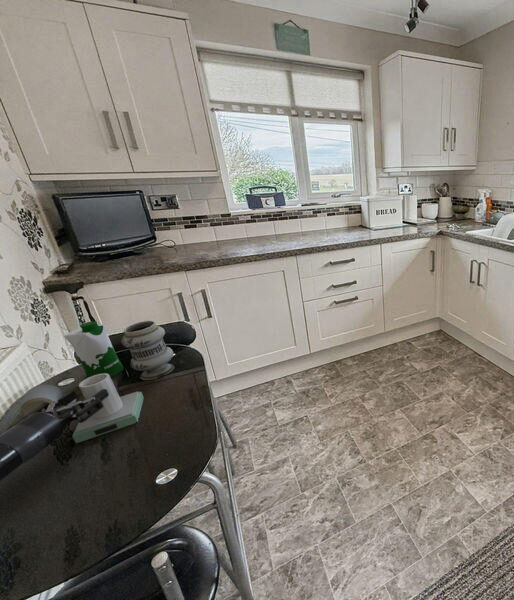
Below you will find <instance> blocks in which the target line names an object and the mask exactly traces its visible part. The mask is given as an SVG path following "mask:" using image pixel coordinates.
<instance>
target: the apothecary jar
mask: <svg viewBox="0 0 514 600" xmlns="http://www.w3.org/2000/svg"><path fill="white" fill-rule="evenodd" d="M165 334H166V331H165V329H164V328H163V327H161V326H160V325H157V324H156V322H155V321H153V320H144V321H140V322H136V323H133V324H130V325H129V326H126V328H124V330H123V336H122V338H121V340H120V342H121V345H122V346H123V347H125V348H126V349H129V353H130V354H131V360H130V362H129V363H130V367H131V368H132V369H133V370H135V371H139V372H142V373H141V374H140V375H139V376H140V379H141V380H143V381H154V380H155V379H159V378H161V377H164V376H167V375H168V374H170V373H171V372H173V371H174V369H175V365H174V364H173V363H170V362H171V360H172V358H173V356H174V351H173V349H172V348H171V347H169V346H167V344H166V343H165V340H164V336H165Z"/></svg>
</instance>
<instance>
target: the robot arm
mask: <svg viewBox="0 0 514 600" xmlns="http://www.w3.org/2000/svg"><path fill="white" fill-rule="evenodd" d="M65 394H66V395H65V396H63V397H62V398H60V399H59V400H54V401H52V402H51V403H48V402H45V403H43V404H42V405H40V406H39V407H37V408H36V409H34V410H33V411H32V412H30V413H29V414H27V415H26V416H22V420H21V421H19V422H18V423H16V424H15V425H13V426H12V427H10V428H9V429H7V430H5V431H4V432H2V433H1V434H0V482H1V481H3V480H4V479H5V478H6V477H8V476H9V475H11V473H13V472H14V471H15V470H17V469H18V468H19V467H21V466H22V465H24V464H25V463H27V462H28V461H30V460H31V459H33V458H34V457H36V455H38V454H39V453H41V452H42V451H43V450H45V449H46V448H47V447H48V446H50V445H51V444H52V443H53V442H54V441H55V440H57V439H58V438H59V437H61V435H63V433H64V429H65V427H66V426H67V425H69V424H70V423H72V422H74V421H78V424H79V423H82V422H84V421H86V420H87V419H88V418H90V417H91V416H92V415H94V414H95V413H96V412H98V411H99V410H100V409H102V408H103V407H104V406H103V404H102V402H101V401H103V400H104V399H105V398H106V397H108V396H109V393H108V391H107V389H102V390H101V391H99V392H98V393H97V394H95V395H94V396H93V397H91V398H90V399H87V400H86V399H84V400H83V401H82V400H79V401H76V403H73V404H71V405H68V404H69V403H71V402H72V401H73V400H75V399H76V400H77V398H78V395H77V392H75V390H72V391H69V392H68V393H65ZM88 403H89V404H88ZM66 405H68V406H66ZM77 407H79V408H80V409H78V408H77ZM43 408H44V409H45V411H44V412H42V409H43ZM94 408H95V409H94Z"/></svg>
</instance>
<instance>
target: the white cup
mask: <svg viewBox="0 0 514 600" xmlns="http://www.w3.org/2000/svg"><path fill="white" fill-rule="evenodd" d="M78 388H79V389H80V391H81V393H82V395H83V397H84V400H87V399H90V398H91V397H93V396H94V395H95V394H97V393H98V392H99V391H101V390H102V389H107V391H108V393H109V396H108V397H106V398H105V399H104V400H103V401H101V402H102V404H103V406H104V407H103V408H102V409H100V410H99V411H98V412H96V413H95V414H94V416H95V417H96V418H102V417H106V416H109V415H111V414H113V413H115V412H117V411H118V410H120V409H121V408H122V406H123V403H122V401H121V399H120V397H121V396H120V395H119V392H118V390H117V389H116V386H115V384H114V382H113V380H112V378H110V376H109V374H106V373H103V374H98V375H94V376H92V377H89V378H87V377H86V378H85V379H84V380H82V381H81V382H79V383H78ZM88 404H89V403H87V405H88ZM94 409H95V408H94Z"/></svg>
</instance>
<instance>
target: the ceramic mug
mask: <svg viewBox="0 0 514 600" xmlns="http://www.w3.org/2000/svg"><path fill="white" fill-rule="evenodd" d="M66 394H67V393H63V391H62V389H61V388H60V387H58V386H56V385H53V384H48V383H47V384H46V383H45V384H44V383H43V384H39V385H35V386H33V387H31V388H30V389H28V391H26V393H25V395H24V398H23V400H22V402H21V404H20V408H19V411H20V414H21V416H22V417H24V416H26V415H27V414H29V413H30V412H32V411H33V410H34V409H36V408H37V407H39V406H40V405H42V404H43V403H45V402H48V403H51V402H52V401H54V400H59V399H60V398H62V397H63V396H65V395H66ZM76 402H77V398H76V399H75V400H73V401H72V402H71V403H69V404H68V405H71V404H73V403H76ZM68 405H66V406H68ZM44 411H45V409H44V408H43V409H42V412H44Z"/></svg>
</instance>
